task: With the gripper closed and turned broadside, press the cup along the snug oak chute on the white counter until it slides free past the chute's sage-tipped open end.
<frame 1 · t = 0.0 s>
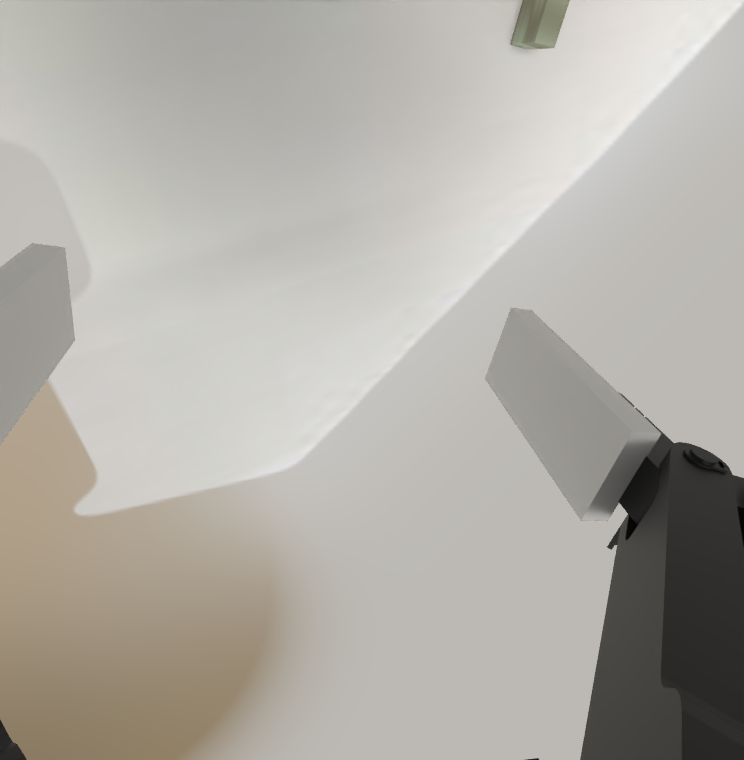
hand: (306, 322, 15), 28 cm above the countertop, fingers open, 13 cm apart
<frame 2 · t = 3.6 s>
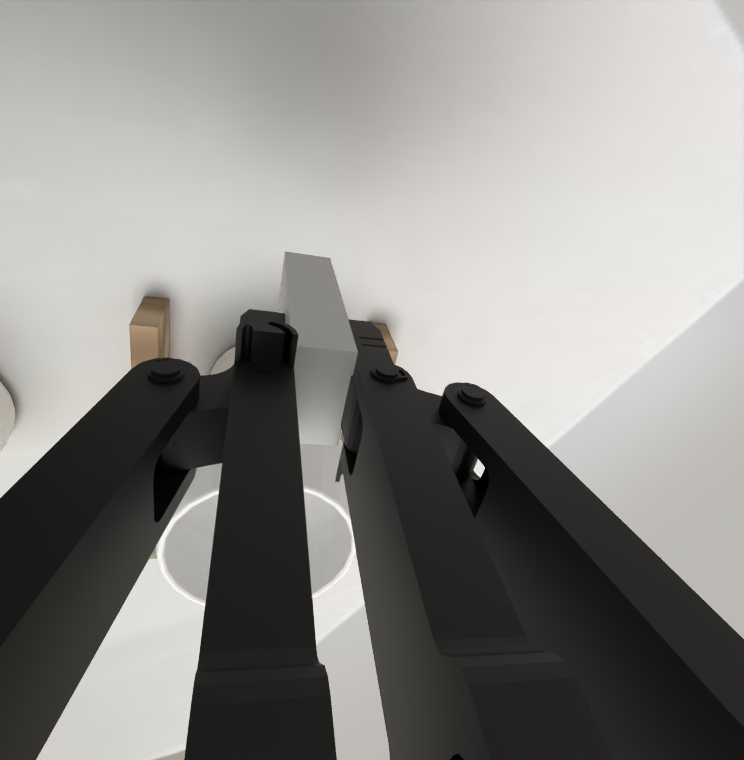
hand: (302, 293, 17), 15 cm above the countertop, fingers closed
cup: (264, 384, 37), on the countertop
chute: (259, 429, 39), on the countertop
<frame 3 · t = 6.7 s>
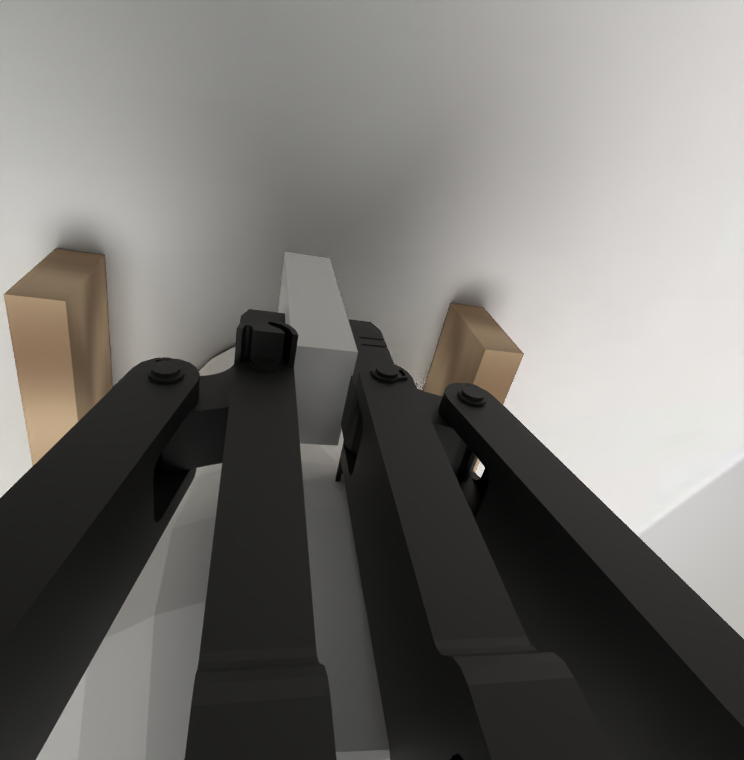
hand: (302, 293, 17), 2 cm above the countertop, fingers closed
cup: (274, 413, 22), on the countertop, touching gripper
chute: (265, 477, 24), on the countertop
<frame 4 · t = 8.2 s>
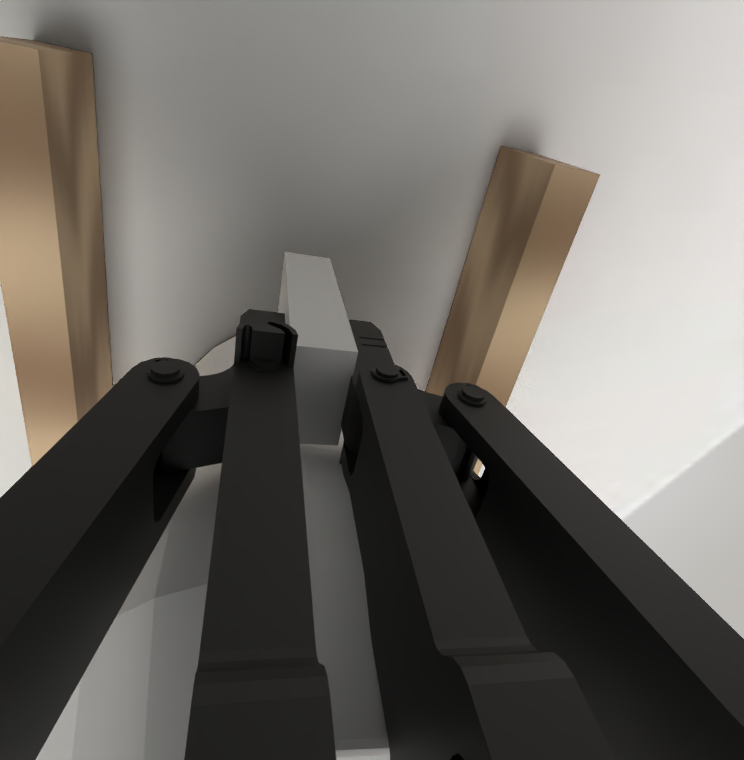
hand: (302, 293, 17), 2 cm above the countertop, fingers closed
cup: (276, 405, 22), on the countertop, touching gripper
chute: (281, 372, 21), on the countertop
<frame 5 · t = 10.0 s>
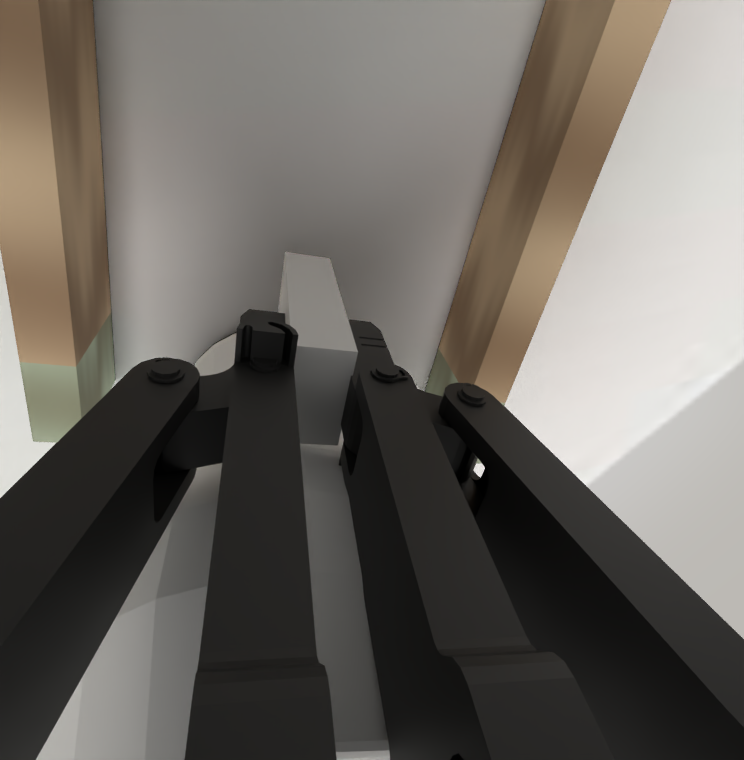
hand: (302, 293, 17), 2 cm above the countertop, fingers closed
cup: (277, 401, 22), on the countertop, touching gripper
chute: (313, 143, 17), on the countertop
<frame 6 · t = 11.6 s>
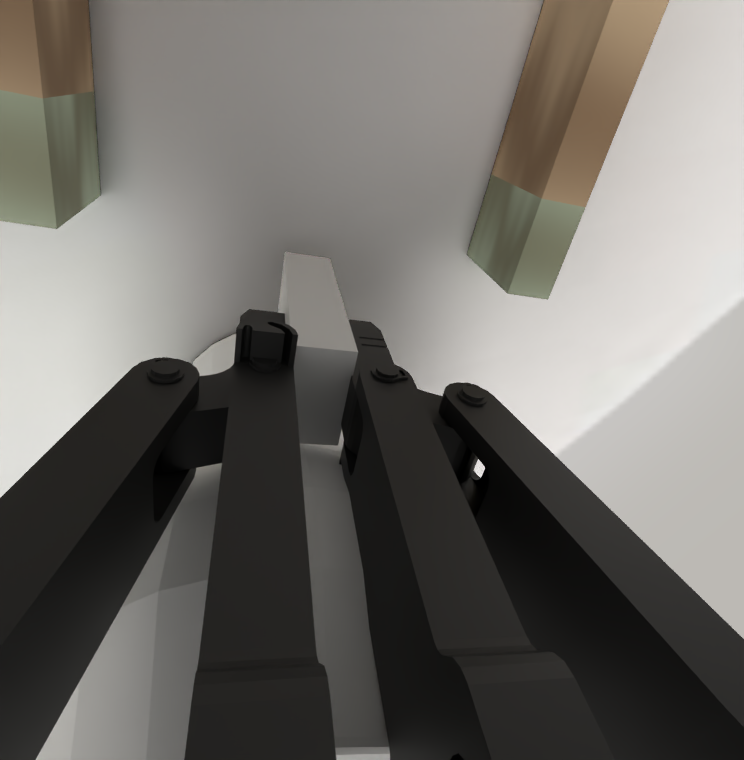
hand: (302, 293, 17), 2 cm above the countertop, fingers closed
cup: (272, 404, 22), on the countertop, touching gripper
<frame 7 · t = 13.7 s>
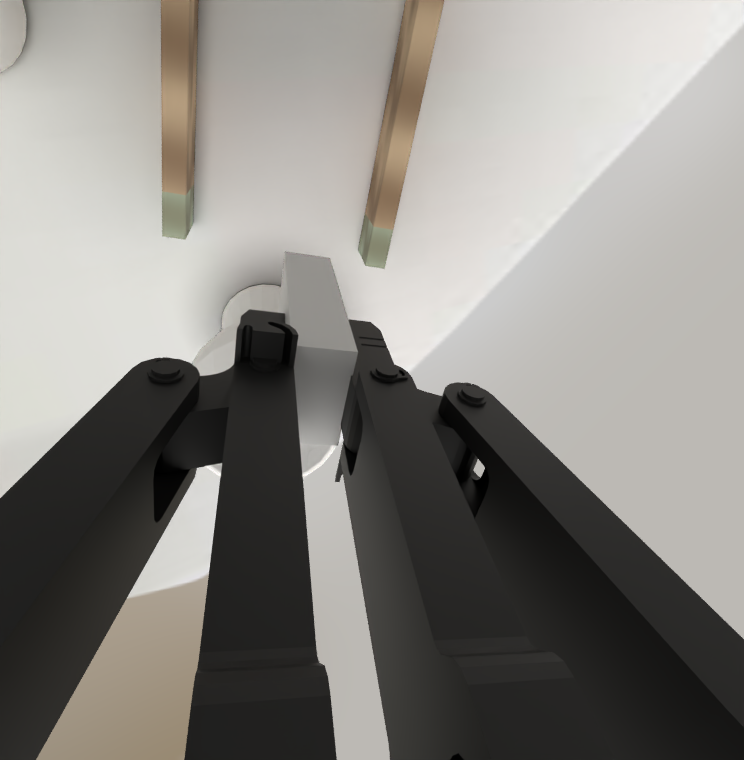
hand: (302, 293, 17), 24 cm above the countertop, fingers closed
cup: (267, 324, 44), on the countertop
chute: (294, 96, 35), on the countertop
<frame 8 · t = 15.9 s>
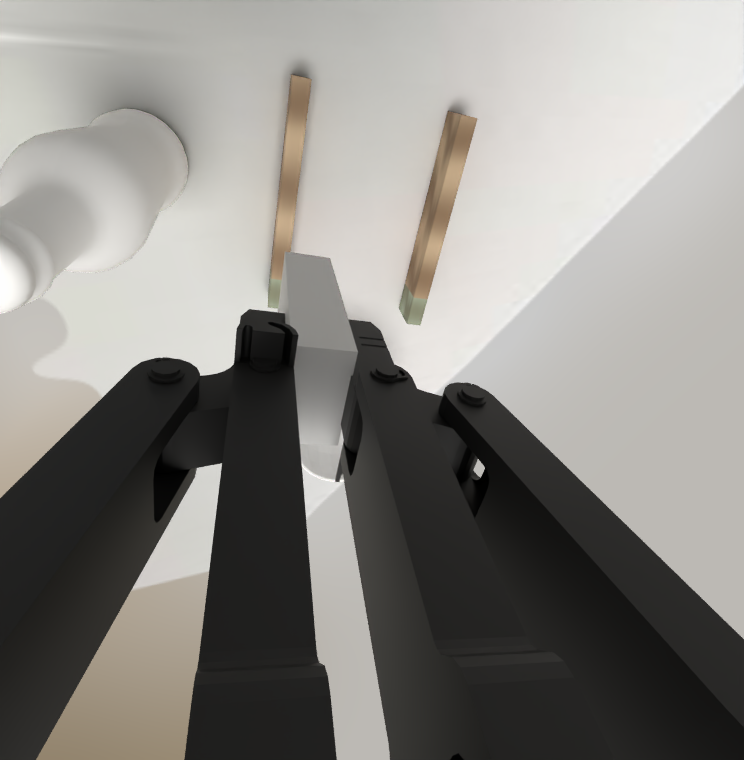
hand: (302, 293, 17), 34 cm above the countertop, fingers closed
cup: (329, 362, 59), on the countertop
bottle: (143, 158, 44), on the countertop
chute: (359, 208, 50), on the countertop
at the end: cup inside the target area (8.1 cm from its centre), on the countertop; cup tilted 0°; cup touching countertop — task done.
